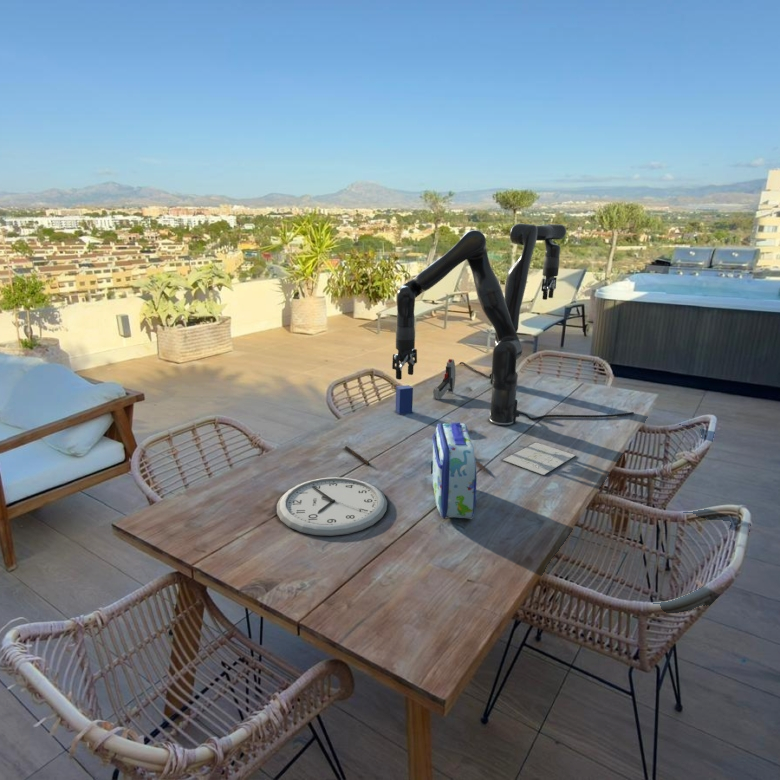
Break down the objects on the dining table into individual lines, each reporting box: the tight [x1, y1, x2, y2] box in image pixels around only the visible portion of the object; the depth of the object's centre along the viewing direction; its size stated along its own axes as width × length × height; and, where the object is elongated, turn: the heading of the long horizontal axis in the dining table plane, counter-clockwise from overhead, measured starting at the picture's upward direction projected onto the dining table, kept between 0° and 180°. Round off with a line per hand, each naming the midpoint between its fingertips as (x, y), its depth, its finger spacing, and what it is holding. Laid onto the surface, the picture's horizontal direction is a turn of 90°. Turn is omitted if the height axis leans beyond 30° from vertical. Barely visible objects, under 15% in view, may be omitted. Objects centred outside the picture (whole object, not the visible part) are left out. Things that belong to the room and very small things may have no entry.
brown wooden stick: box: [344, 445, 370, 465], centre depth 173 cm, size 15×1×1 cm, turn 34°
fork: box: [475, 459, 488, 474], centre depth 169 cm, size 3×16×2 cm, turn 15°
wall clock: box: [276, 476, 388, 537], centre depth 142 cm, size 30×2×30 cm
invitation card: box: [502, 442, 577, 476], centre depth 174 cm, size 21×1×15 cm
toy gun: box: [433, 358, 456, 400], centre depth 235 cm, size 2×16×15 cm
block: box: [395, 384, 414, 415], centre depth 214 cm, size 4×6×11 cm
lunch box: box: [430, 422, 478, 520], centre depth 143 cm, size 26×11×21 cm, turn 179°
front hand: (404, 376), depth 211 cm, fingers open, 8 cm apart
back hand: (547, 298), depth 267 cm, fingers open, 8 cm apart
